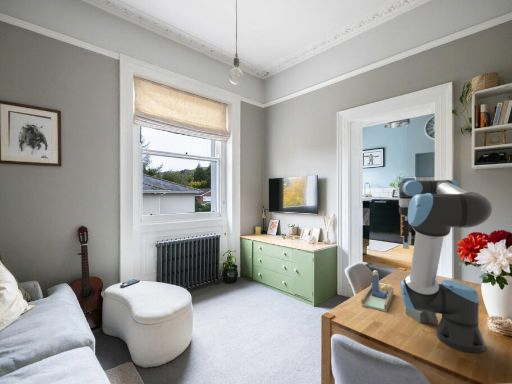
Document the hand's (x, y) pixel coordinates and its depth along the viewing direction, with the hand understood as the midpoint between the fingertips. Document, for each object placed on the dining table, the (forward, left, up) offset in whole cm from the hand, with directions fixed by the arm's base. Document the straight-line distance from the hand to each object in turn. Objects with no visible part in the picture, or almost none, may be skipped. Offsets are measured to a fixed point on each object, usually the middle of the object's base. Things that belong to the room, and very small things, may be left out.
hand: (407, 246), depth 133 cm
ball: (+10, +13, -29) cm, 33 cm away
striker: (+3, +14, -30) cm, 34 cm away
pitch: (-1, +14, -32) cm, 35 cm away
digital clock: (-11, -6, -32) cm, 34 cm away
